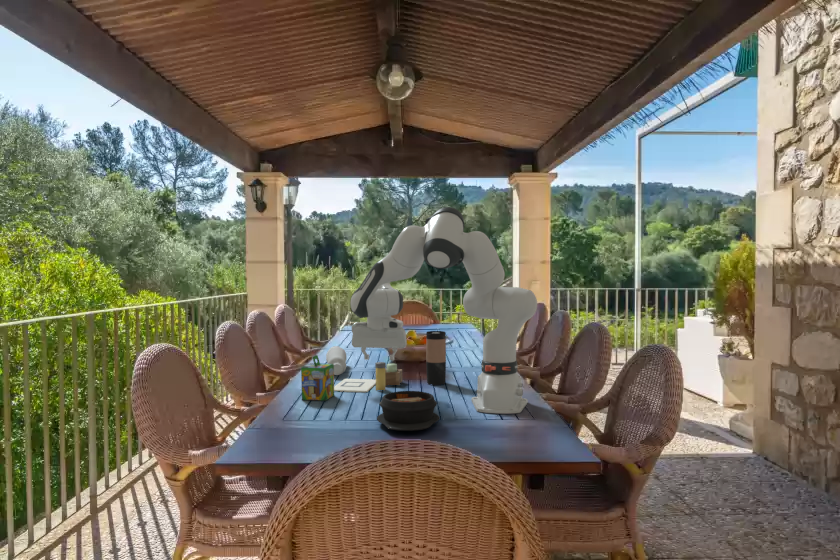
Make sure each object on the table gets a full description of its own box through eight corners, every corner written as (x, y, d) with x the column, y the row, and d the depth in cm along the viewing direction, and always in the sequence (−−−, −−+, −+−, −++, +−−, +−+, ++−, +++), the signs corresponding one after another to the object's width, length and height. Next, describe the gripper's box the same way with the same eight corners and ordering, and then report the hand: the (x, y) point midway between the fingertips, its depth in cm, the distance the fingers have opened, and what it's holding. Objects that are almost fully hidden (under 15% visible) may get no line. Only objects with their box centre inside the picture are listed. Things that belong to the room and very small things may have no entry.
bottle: (322, 358, 271) (321, 373, 242) (333, 341, 271) (333, 354, 242) (339, 368, 273) (340, 384, 243) (350, 352, 273) (352, 366, 243)
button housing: (399, 385, 228) (398, 372, 227) (381, 385, 229) (380, 372, 229) (402, 381, 235) (402, 369, 234) (384, 381, 236) (384, 368, 235)
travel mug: (446, 381, 235) (446, 330, 235) (445, 385, 228) (445, 333, 227) (427, 381, 236) (427, 330, 235) (425, 385, 229) (425, 333, 228)
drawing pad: (366, 392, 217) (366, 390, 217) (329, 391, 219) (329, 389, 219) (379, 381, 237) (379, 379, 236) (344, 380, 239) (344, 378, 239)
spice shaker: (384, 391, 219) (384, 364, 219) (374, 390, 219) (374, 363, 219) (386, 388, 223) (386, 362, 222) (376, 388, 223) (376, 361, 223)
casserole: (378, 413, 188) (378, 387, 188) (437, 412, 189) (437, 386, 188) (374, 437, 163) (374, 407, 163) (442, 436, 164) (442, 406, 163)
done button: (395, 380, 229) (395, 365, 229) (385, 380, 230) (385, 365, 230) (397, 378, 233) (397, 363, 233) (387, 378, 234) (387, 363, 234)
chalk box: (326, 401, 204) (325, 358, 203) (300, 400, 206) (300, 357, 205) (335, 395, 213) (334, 354, 212) (311, 394, 215) (310, 353, 214)
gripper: (349, 323, 218) (349, 360, 218) (404, 323, 215) (404, 361, 216) (353, 321, 224) (353, 357, 225) (407, 321, 221) (407, 358, 222)
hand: (379, 359), depth 220 cm, fingers open, 8 cm apart
